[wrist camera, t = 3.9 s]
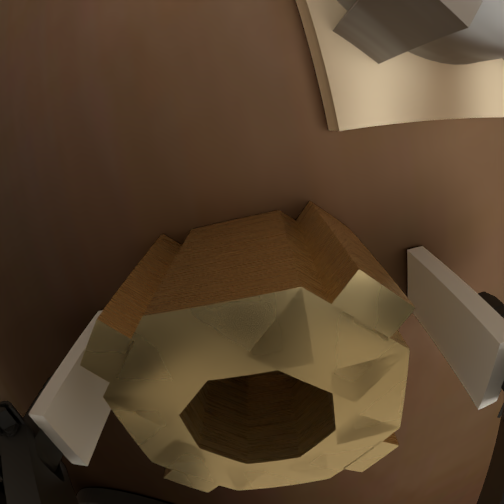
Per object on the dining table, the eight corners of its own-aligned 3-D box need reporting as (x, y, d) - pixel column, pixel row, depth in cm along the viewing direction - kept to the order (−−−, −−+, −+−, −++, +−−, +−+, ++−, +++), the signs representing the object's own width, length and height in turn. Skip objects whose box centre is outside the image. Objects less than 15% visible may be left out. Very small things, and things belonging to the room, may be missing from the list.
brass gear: (195, 391, 15) (176, 492, 10) (133, 240, 12) (57, 324, 7) (359, 362, 14) (395, 462, 9) (342, 194, 12) (416, 255, 6)
